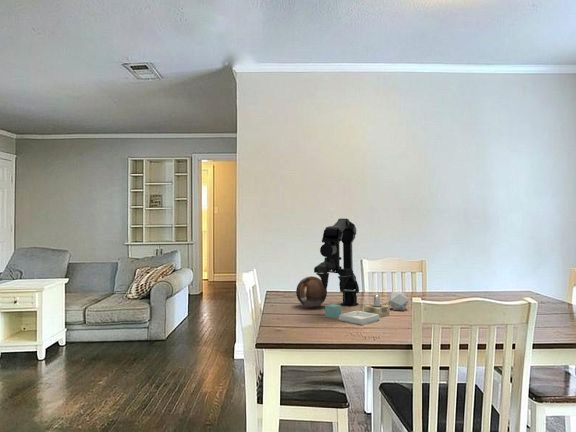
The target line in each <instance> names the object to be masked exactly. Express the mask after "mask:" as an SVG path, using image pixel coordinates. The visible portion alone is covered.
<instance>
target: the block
mask: <svg viewBox="0 0 576 432" xmlns="http://www.w3.org/2000/svg"><path fill="white" fill-rule="evenodd" d="M324 306H325V308H324V311H325V312H324V315H325V316H324V317H326V318H331V319H337V318H339V315H340V314H342V304H334V303H331V304H326V305H324Z"/></svg>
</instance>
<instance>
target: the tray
mask: <svg viewBox="0 0 576 432" xmlns="http://www.w3.org/2000/svg"><path fill="white" fill-rule="evenodd" d="M338 318H339V319H338V321H341V322H345V323H349V324H354V325H359V326H364V325H368V324H371V323H375V322H378V321H380V318H379V315H378V314H373V313H367V312H364V311H360V310H354V311H349V312H344V313H341V314H340V315H339V317H338Z"/></svg>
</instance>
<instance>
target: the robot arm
mask: <svg viewBox="0 0 576 432" xmlns="http://www.w3.org/2000/svg"><path fill="white" fill-rule="evenodd" d="M356 235H357V227H356V225H355V224H354V223H353V222H352V221H350V219H348V218H338V219H337V221H336V222H335V223H334V224H333V225H329V226H326V227H325V229H324V230H323V234H322V239H321V243H324V244H322V245H321V246H320V248H319V252H320V254H321V255H320V256H322V257H324V261H323V262H320V263H318V264H317V265H316V266H314V268H313V273H316V274H315V275H317V276H318V278H319V279H321V280H322V283H323V286H324V289H328V284H329V276H330V273H331V274H338V276H337V278H338V279H339V283H338V284H339V285H338V286H339V292H340V293H342V302H340V305H343V306H349V307H352V306H355V305H359V303H358V299H357V298H358V296H357V294H358V293H360V287H359V283H358V280H357V277H356V275H355V273H354V268H353V267H354V266H353V265H354V264H353V243H354V241H355V239H356ZM340 242H342V243H341V244H342V253H343V254H342V255H343V256H342V257H343V258H342V257H341V255H340V254H341V253H340V249H341V248H340V245H341V244H340ZM341 260H343V261H342V262H343V263H342V264H343V266H340V265H341V262H340V261H341Z"/></svg>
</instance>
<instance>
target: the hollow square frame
mask: <svg viewBox="0 0 576 432" xmlns="http://www.w3.org/2000/svg"><path fill="white" fill-rule="evenodd" d="M363 308H364V309H363V312H367V313H373V314H378V315H379V319H381V318H384V317H388V316H390V305H384V304H380V307H374V303H372V304H368V305H364V306H363Z"/></svg>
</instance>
